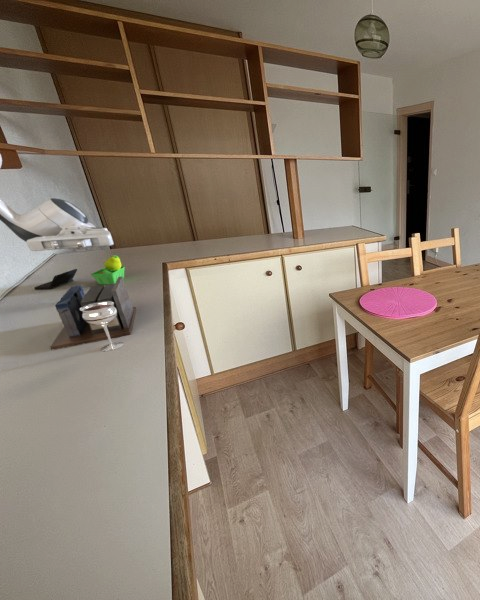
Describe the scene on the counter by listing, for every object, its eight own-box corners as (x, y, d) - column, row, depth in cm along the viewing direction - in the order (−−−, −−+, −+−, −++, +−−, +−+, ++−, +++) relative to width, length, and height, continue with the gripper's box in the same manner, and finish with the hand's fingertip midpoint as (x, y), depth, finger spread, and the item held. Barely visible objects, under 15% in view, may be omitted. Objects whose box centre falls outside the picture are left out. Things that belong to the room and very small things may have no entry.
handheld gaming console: (49, 277, 133) (59, 259, 131) (71, 286, 137) (80, 268, 135) (31, 290, 124) (40, 271, 121) (54, 298, 127) (64, 280, 125)
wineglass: (129, 346, 86) (115, 306, 81) (96, 355, 81) (79, 313, 77) (126, 338, 90) (113, 299, 86) (94, 346, 85) (78, 305, 81)
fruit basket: (108, 278, 140) (99, 253, 135) (132, 276, 142) (124, 252, 138) (94, 286, 130) (84, 259, 125) (120, 284, 132) (111, 258, 128)
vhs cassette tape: (82, 315, 101) (70, 286, 98) (94, 313, 103) (83, 284, 99) (66, 338, 87) (52, 305, 83) (80, 335, 89) (67, 303, 85)
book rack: (51, 350, 83) (31, 305, 78) (71, 320, 100) (55, 281, 95) (130, 334, 92) (116, 293, 87) (136, 309, 109) (125, 273, 104)
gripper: (31, 231, 103) (15, 238, 93) (112, 227, 114) (106, 233, 103) (39, 250, 105) (24, 259, 95) (117, 244, 116) (112, 251, 106)
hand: (68, 245), depth 99 cm, fingers open, 4 cm apart
